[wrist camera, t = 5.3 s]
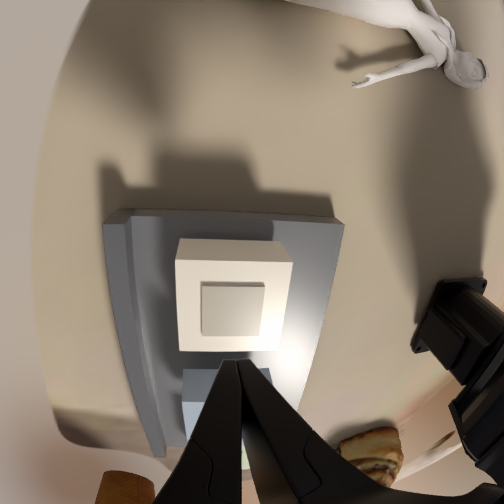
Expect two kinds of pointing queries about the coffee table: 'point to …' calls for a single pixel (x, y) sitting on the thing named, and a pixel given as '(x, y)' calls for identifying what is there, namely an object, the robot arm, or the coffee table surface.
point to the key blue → (200, 393)
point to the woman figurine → (422, 30)
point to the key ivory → (231, 294)
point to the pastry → (375, 453)
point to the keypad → (165, 305)
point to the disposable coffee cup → (125, 489)
